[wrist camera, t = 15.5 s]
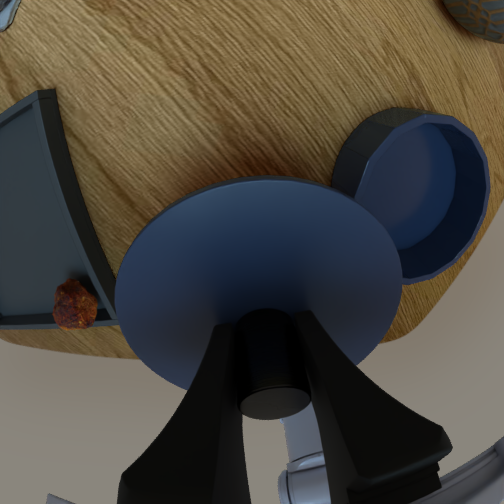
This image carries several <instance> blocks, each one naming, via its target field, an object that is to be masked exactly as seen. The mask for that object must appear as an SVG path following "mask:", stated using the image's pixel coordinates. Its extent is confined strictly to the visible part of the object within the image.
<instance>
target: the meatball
mask: <svg viewBox="0 0 504 504" xmlns="http://www.w3.org/2000/svg"><path fill="white" fill-rule="evenodd" d="M54 296H55V298H54V300H55V301H54V302H55V306H54V307H53V314H52V315H53V317H54V320H55V322H56V323H57V325H58V326H59V327H60V328H62V329H65V330H76V329H86V328H88V327H92V326H93V323H94V321H95V318H96V314H97V310H96V309H97V306H98V303H97V299H96V298H95V297H94V296H93V294H92V295H91V294H90V293H89V292H88V291H87V290H86V288H85V287H84V286H83V285H82V283H80V282H79V281H78V280H75V279H70V278H69V279H67V280H66V282H64V283H63V284H60V286H57V289H56V293H55V294H54Z"/></svg>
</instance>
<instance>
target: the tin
mask: <svg viewBox="0 0 504 504" xmlns="http://www.w3.org/2000/svg"><path fill="white" fill-rule="evenodd" d="M331 187H332V188H335V189H337V190H339V191H341V192H342V193H344V194H346V195H348V196H350V197H351V198H353V199H355V200H356V201H357V202H359V203H360V204H361V205H362V206H364V207H365V208H366V209H367V210H369V211H370V212H371V213H372V214H373V215H374V216H375V217H376V218H377V220H378V221H379V222H380V223H381V224H382V225H383V226H384V228H385V229H386V230H387V232H388V234H389V235H390V237H391V239H392V240H393V242H394V244H395V247H396V250H397V252H398V255H399V258H400V263H401V269H402V284H404V285H410V284H414V283H417V282H421V281H425V280H429V279H432V278H434V277H436V276H437V275H439V274H440V273H442V272H443V271H445V270H446V269H448V268H449V267H451V266H452V265H454V263H456V262H457V260H458V259H459V258H460V257H461V256H462V255H463V253H464V252H465V251H466V250H467V249H468V247H469V246H470V245H471V244H472V243H473V241H474V239H475V237H476V235H477V233H478V231H479V229H480V226H481V224H482V222H483V220H484V218H485V215H486V211H487V205H488V200H489V194H490V176H489V168H488V161H487V157H486V155H485V153H484V151H483V149H482V147H481V145H480V143H479V141H478V139H477V137H476V135H475V133H474V132H473V131H471V130H470V129H469V128H467V127H466V126H465V125H464V124H462V123H461V122H460V121H458V120H457V119H455V118H454V117H452V116H449V115H445V114H440V113H436V112H431V111H426V110H422V109H412V108H395V107H393V108H390V109H387V110H384V111H381V112H378V113H376V114H374V115H373V116H371V117H369V118H367V119H366V120H365V121H364V122H362V123H361V124H360V125H359V126H358V127H357V128H356V129H355V130H354V131H353V132H352V133H351V135H350V136H349V137H348V139H347V140H346V142H345V143H344V145H343V147H342V149H341V151H340V153H339V155H338V158H337V160H336V163H335V167H334V171H333V176H332V182H331Z"/></svg>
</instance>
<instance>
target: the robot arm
mask: <svg viewBox="0 0 504 504" xmlns="http://www.w3.org/2000/svg"><path fill="white" fill-rule="evenodd" d="M294 316H295V329H296V333H297V337H298V341H299V345H300V349H301V353H302V357H303V361H304V365H305V369H306V373H307V377H308V381H309V385H310V390H311V394H312V399H311V402H310V404H309V405H308V406H307V407H306V408H305V409H304V410H302V411H301V412H299V413H297V414H294V415H292V416H289V417H285V418H281V419H280V423H284V430H285V436H286V442H287V449H288V456H289V462H290V463H288V464H287V470H284V471H282V473H281V475H280V476H279V478H278V492H279V498H280V503H281V504H500V503H501V502H502V501H503V500H504V437H502V438H501V439H500V440H498V441H497V442H496V443H495V444H494V445H493V446H491V447H490V448H489V449H487V450H486V451H484V452H483V453H481V454H480V455H478V456H476V457H475V458H473V459H472V460H470V461H468V462H467V463H465V464H464V465H462V466H460V467H458V468H457V469H455V470H453V471H451V472H450V473H448V474H446V475H444V476H443V477H440V478H439V476H438V473H437V471H439V470H440V468H439V465H438V461H440V460H441V459H442V458H444V457H445V456H446V455H448V454H449V453H450V452H451V451H452V448H453V447H452V444H451V442H450V439H449V437H448V436H447V434H446V432H445V431H444V429H443V427H442V426H440V425H438V424H436V423H434V422H432V421H430V420H428V419H426V418H425V417H423V416H421V415H419V414H417V413H416V412H414V411H412V410H411V409H409V408H408V407H406V406H405V405H403V404H402V403H400V402H399V401H397V400H396V399H395V398H393V397H392V396H390V395H389V394H387V393H386V392H385V391H384V390H382V389H381V388H379V386H378V385H376V384H375V383H374V382H373V381H372V380H371V379H369V378H368V377H367V376H366V375H365V374H364V373H363V372H362V371H361V370H360V369H359V368H358V367H357V366H356V365H355V364H354V363H353V362H352V361H351V360H350V359H349V358H348V357H347V356H346V355H345V354H344V353H343V351H342V350H341V349H340V348H339V347H338V345H337V344H336V343H335V342H334V341H333V340H332V338H331V337H330V336H329V334H328V333H327V332H326V330H325V329H324V328H323V326H322V325H321V324H320V322H319V321H318V319H317V318H316V316H315V315H314V313H313V312H312V311H311V310H307V311H302V312H296V313H294ZM242 431H243V430H242V413H241V412H240V411H239V409H238V407H237V391H236V368H235V334H234V331H233V327H232V323H226V324H219V325H215V326H214V327H213V331H212V334H211V337H210V340H209V343H208V346H207V349H206V351H205V354H204V356H203V359H202V361H201V363H200V366H199V368H198V370H197V373H196V375H195V377H194V379H193V381H192V383H191V385H190V387H189V389H188V391H187V393H186V394H185V396H184V398H183V400H182V401H181V403H180V405H179V406H178V408H177V410H176V411H175V413H174V414H173V416H172V417H171V419H170V420H169V422H168V423H167V424H166V426H165V427H164V429H163V430H162V431H161V433H160V434H159V435H158V436H157V437H156V439H155V440H154V441H153V442H152V443H151V445H150V446H149V447H148V448H147V449H146V450H145V452H144V453H143V454H142V455H141V456H140V457H139V458H138V459H137V460H136V461H135V462H134V463H133V464H132V465H131V466H130V467H128V468H127V470H125V471H124V472H123V473H122V475H121V480H120V483H119V488H118V499H117V504H251V499H250V492H249V485H248V478H247V471H246V463H245V453H244V444H243V432H242ZM46 504H75V503H72V502H70V501H67V500H64V499H62V498H59V497H57V496H54V495H52V494H48V495H47V502H46Z"/></svg>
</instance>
